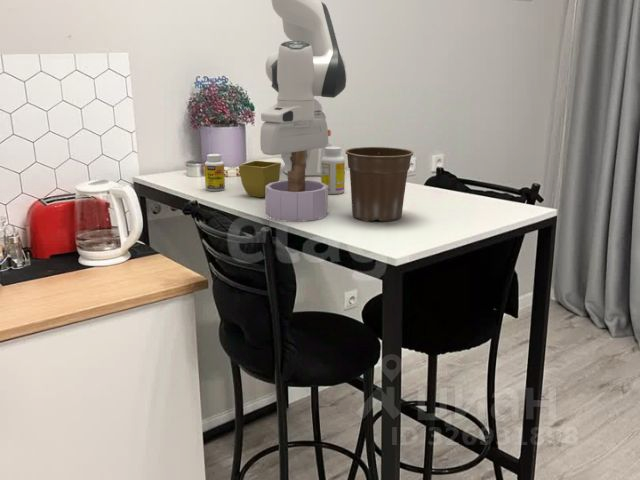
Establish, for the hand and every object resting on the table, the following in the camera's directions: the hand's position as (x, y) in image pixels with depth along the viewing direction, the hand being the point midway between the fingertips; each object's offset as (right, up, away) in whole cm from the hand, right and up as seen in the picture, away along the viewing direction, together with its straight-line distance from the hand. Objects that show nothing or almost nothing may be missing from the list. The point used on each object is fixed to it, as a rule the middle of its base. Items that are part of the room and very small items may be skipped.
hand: (296, 169), depth 158 cm
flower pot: (-11, -5, +23) cm, 26 cm away
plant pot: (+20, -11, +2) cm, 23 cm away
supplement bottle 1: (-25, -3, +30) cm, 39 cm away
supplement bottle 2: (+10, -4, +28) cm, 29 cm away
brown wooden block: (0, -5, +1) cm, 5 cm away
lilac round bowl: (0, -11, +3) cm, 11 cm away
